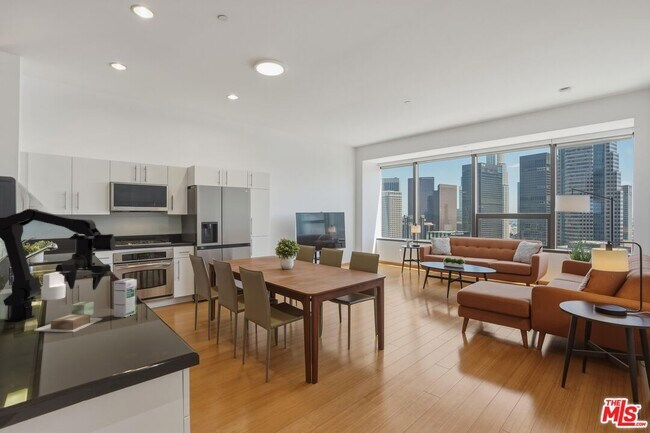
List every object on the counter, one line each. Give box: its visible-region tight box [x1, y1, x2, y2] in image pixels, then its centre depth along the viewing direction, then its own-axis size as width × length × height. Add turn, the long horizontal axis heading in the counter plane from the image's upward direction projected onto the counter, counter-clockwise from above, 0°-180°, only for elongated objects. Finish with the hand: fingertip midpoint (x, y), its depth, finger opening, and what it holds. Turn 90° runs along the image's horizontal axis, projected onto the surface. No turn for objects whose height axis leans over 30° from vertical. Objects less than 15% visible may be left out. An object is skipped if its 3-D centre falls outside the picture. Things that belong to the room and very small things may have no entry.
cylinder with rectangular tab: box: [40, 271, 67, 301], centre depth 155 cm, size 9×9×12 cm
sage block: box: [71, 301, 95, 316], centre depth 129 cm, size 5×5×5 cm
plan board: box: [33, 313, 103, 333], centre depth 118 cm, size 14×14×4 cm
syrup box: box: [113, 278, 138, 318], centre depth 131 cm, size 6×6×14 cm
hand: (83, 289), depth 129 cm, fingers open, 9 cm apart
